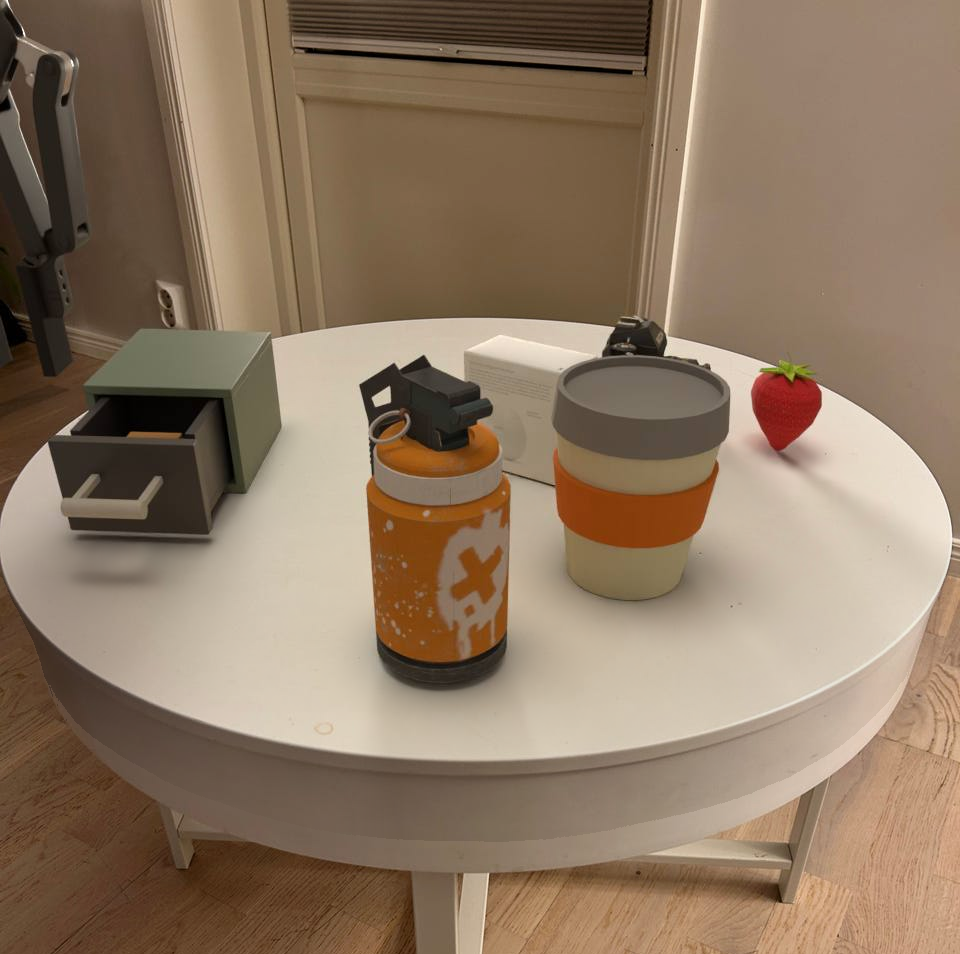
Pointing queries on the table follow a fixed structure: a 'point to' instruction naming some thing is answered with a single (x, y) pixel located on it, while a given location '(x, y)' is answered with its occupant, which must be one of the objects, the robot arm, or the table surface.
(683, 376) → the reusable coffee cup
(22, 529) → the table surface
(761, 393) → the strawberry
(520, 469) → the cosmetics box
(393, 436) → the canister
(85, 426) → the open drawer
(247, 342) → the small drawer cabinet
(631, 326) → the film camera
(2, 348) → the robot arm
